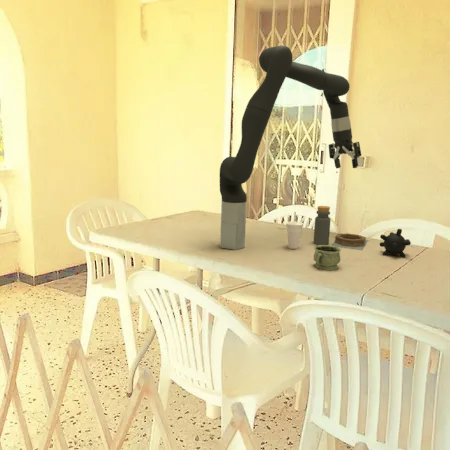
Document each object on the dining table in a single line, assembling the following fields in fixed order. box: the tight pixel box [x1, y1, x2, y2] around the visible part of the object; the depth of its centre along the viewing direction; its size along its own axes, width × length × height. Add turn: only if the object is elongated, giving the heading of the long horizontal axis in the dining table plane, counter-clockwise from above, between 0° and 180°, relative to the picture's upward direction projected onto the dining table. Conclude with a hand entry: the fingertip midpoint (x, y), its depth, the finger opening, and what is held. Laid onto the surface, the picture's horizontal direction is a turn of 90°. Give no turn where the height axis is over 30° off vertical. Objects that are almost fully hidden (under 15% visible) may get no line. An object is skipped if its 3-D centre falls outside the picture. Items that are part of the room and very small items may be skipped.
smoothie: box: [285, 211, 304, 251], centre depth 176 cm, size 6×6×14 cm
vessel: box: [313, 244, 342, 271], centre depth 155 cm, size 12×9×6 cm
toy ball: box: [379, 228, 412, 259], centre depth 171 cm, size 11×11×12 cm
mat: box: [330, 239, 369, 251], centre depth 187 cm, size 18×12×1 cm, turn 156°
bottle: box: [312, 205, 331, 246], centre depth 183 cm, size 6×6×15 cm
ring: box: [334, 233, 367, 247], centre depth 186 cm, size 11×11×2 cm
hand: (346, 167), depth 196 cm, fingers open, 8 cm apart
